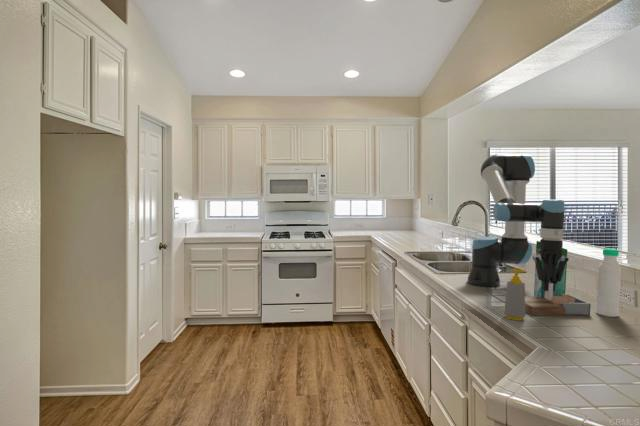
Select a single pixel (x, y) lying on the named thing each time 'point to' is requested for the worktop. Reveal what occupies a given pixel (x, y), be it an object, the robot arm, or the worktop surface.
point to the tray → (575, 306)
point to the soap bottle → (515, 298)
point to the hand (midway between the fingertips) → (548, 299)
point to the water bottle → (609, 284)
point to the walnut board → (543, 307)
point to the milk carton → (558, 286)
